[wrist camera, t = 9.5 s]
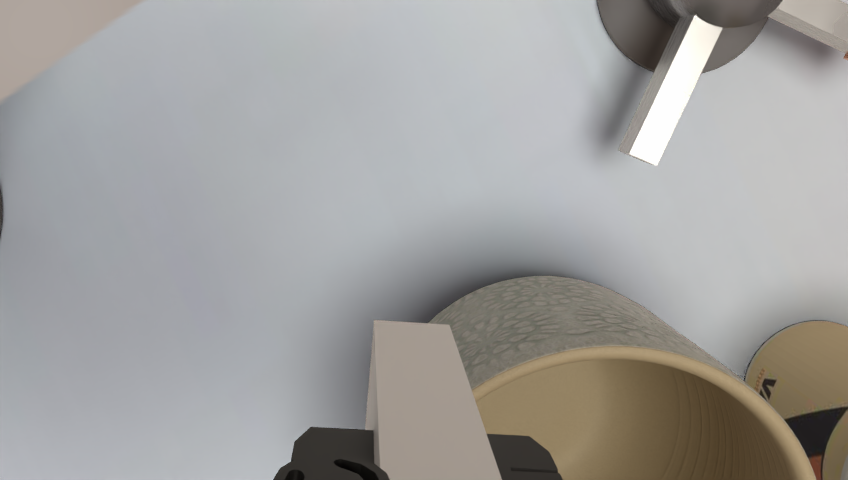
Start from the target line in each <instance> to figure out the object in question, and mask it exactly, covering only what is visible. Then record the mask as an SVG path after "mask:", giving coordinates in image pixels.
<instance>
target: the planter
mask: <svg viewBox="0 0 848 480" xmlns="http://www.w3.org/2000/svg"><path fill="white" fill-rule="evenodd" d="M428 323H430V324H446V325H450V328H451V331H452V334H453V337H454V340H455V343H456V346H457V349H458V351H459V354H460V357H461V360H462V363H463V366H464V369H465V372H466V375H467V378H468V381H469V384H470V387H471V390H472V393H473V396H474V399H475V402H476V405H477V407H478V410H479V413H480V416H481V419H482V422H483V425H484V428H485V431H486V434H502V435H521V436H530V437H531V438H533V439H534V440H535V441H536V442H538V443H539V444H540V445H541V446H543V447H544V448H545V449H546V450H548V451H549V452H550V454H551V456H552V458H553V460H554V462H555V465H556V467H557V469H558V473H560V475H561V477H562V479H563V480H816V477H815V474H814V471H813V469H812V466H811V464H810V461H809V459H808V457H807V455H806V453H805V451H804V449H803V447H802V445H801V444H800V442H799V440H798V439H797V437H796V436H795V434H794V432H793V431H792V430H791V428H790V427H789V426H788V424H787V423H786V422H785V420H784V419H783V418H782V417H781V416H780V414H779V413H778V412H777V411H776V410H775V409H774V408H773V407H772V406H771V405H770V404H769V403H768V402H767V401H766V400H765V399H764V398H763V397H762V396H761V395H760V394H759V393H757V392H756V391H755V390H754V389H753V388H752V387H750V386H749V385H748V384H747V383H746V382H744V381H743V380H742V379H741V378H740V377H738V376H737V375H736V374H735V373H733V372H732V371H731V370H729V369H728V368H727V367H725V366H724V365H723V364H721V363H720V362H719V361H717V360H716V359H715V358H713V357H712V356H711V355H709V354H708V353H707V352H705V351H704V350H703V349H701V348H700V347H698V346H697V345H696V344H694V343H693V342H691V341H690V340H689V339H687V338H686V337H684V336H683V335H681V334H680V333H678V332H677V331H675V330H674V329H673V328H671V327H670V326H669V325H667V324H666V323H665V322H663V321H662V320H661V319H659V318H658V317H657V316H655V315H654V314H653V313H651V312H650V311H649V310H647V309H646V308H644V307H642V306H641V305H639V304H637V303H636V302H634V301H632V300H630V299H628V298H626V297H624V296H622V295H620V294H619V293H617V292H614V291H612V290H610V289H608V288H605V287H602V286H600V285H597V284H594V283H590V282H586V281H582V280H578V279H573V278H567V277H558V276H529V277H521V278H514V279H510V280H505V281H501V282H497V283H494V284H491V285H488V286H485V287H483V288H480V289H478V290H476V291H473V292H471V293H469V294H467V295H465V296H464V297H462V298H460V299H458V300H457V301H455V302H454V303H452V304H451V305H449V306H448V307H446V308H445V309H444V310H442V311H441V312H440V313H438V314H437V315H436V316H435V317H434V318H433V319H432V320H430V321H429V322H428Z"/></svg>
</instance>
